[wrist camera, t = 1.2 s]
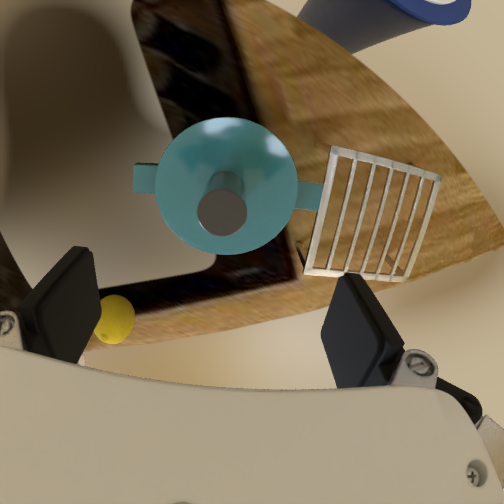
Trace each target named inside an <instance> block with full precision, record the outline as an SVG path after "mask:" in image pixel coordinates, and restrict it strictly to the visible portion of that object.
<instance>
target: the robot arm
mask: <svg viewBox="0 0 504 504" xmlns="http://www.w3.org/2000/svg"><path fill="white" fill-rule="evenodd" d="M425 1H428V2H430V3H434V4H439V5H445V4H449V3H452V2H454V1H455V0H425ZM18 308H19V311H20V313H19V314H18V315H16V314H15V313H14V312H11V311H1V312H0V504H504V492H503V488H504V429H503V428H501V427H500V426H499V425H498V424H497V423H496V422H495V421H493V420H492V419H491V418H490V417H489V416H487V415H485V416H484V417H483V416H482V407H481V404H480V403H479V401H478V399H477V398H476V397H475V396H473V395H472V394H470V393H468V392H466V391H464V390H462V389H460V388H458V387H456V386H454V385H452V384H451V383H448V382H447V381H445V380H443V379H441V378H439V377H437V375H438V366H437V363H436V362H435V360H434V359H433V358H432V357H431V356H430V355H429V354H427V353H425V352H424V351H421V350H417V349H410V350H407V351H405V350H404V348H403V345H404V341H403V340H402V338H401V336H400V335H399V333H398V331H397V330H396V328H395V327H394V325H393V324H392V322H391V320H390V319H389V317H388V315H387V314H386V312H385V311H384V309H383V307H382V306H381V305H380V303H379V301H378V300H377V298H376V297H375V295H374V294H373V292H372V291H371V289H370V288H369V286H368V285H367V283H366V282H365V280H364V279H363V277H362V276H361V274H360V273H349V272H346V273H344V275H343V276H340V277H339V279H338V281H337V285H336V288H335V291H334V294H333V297H332V300H331V303H330V306H329V309H328V312H327V315H326V318H325V321H324V324H323V326H322V330H321V339H322V342H323V345H324V348H325V351H326V354H327V358H328V361H329V363H330V366H331V370H332V373H333V376H334V379H335V382H336V386H337V389H311V390H270V389H243V388H226V387H213V386H201V385H192V384H183V383H175V382H167V381H160V380H153V379H147V378H141V377H135V376H129V375H123V374H118V373H113V372H108V371H103V370H98V369H94V368H90V367H86V366H81V365H77V363H78V361H79V359H80V357H81V355H82V353H83V351H84V349H85V347H86V345H87V343H88V341H89V339H90V337H91V335H92V333H93V331H94V329H95V327H96V326H97V324H98V322H99V320H100V318H101V315H102V307H101V302H100V297H99V291H98V286H97V279H96V273H95V266H94V258H93V254H92V252H90V251H89V249H88V248H87V247H80V246H73V247H72V248H71V249H70V250H69V251H68V252H67V253H66V254H65V255H64V256H63V257H62V258H61V259H60V260H59V261H58V262H57V263H56V265H55V266H54V267H53V268H52V269H51V270H50V271H49V272H48V273H47V274H46V275H45V276H44V277H43V279H42V280H41V281H40V282H39V283H38V284H37V285H36V286H35V287H34V289H33V290H32V291H31V292H30V293H29V294H28V296H27V297H26V298H25V299H24V300H23V301H22V303H21V304H20V305H19V306H18Z"/></svg>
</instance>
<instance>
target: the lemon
mask: <svg viewBox="0 0 504 504" xmlns="http://www.w3.org/2000/svg"><path fill="white" fill-rule="evenodd" d="M100 302H101V307H102V315H101V318H100V320H99V322H98V324H97V326H96V327H95V329H94V333H95V334H96V336H97V337H98V338H99V339H100V340H101V341H103V342H105V343H109V344H116V343H119V342H121V341H123V340H124V339H125V338H126V337H127V336H128V335H129V333H130V332H131V330H132V328H133V325H134V321H135V312H134V309H133V306H132V305H131V303H130V302H129V301H128V300H127V299H126V298H124V297H122V296H120V295H109V296H107V297H105V298H103V299H102V300H101V301H100Z"/></svg>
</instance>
